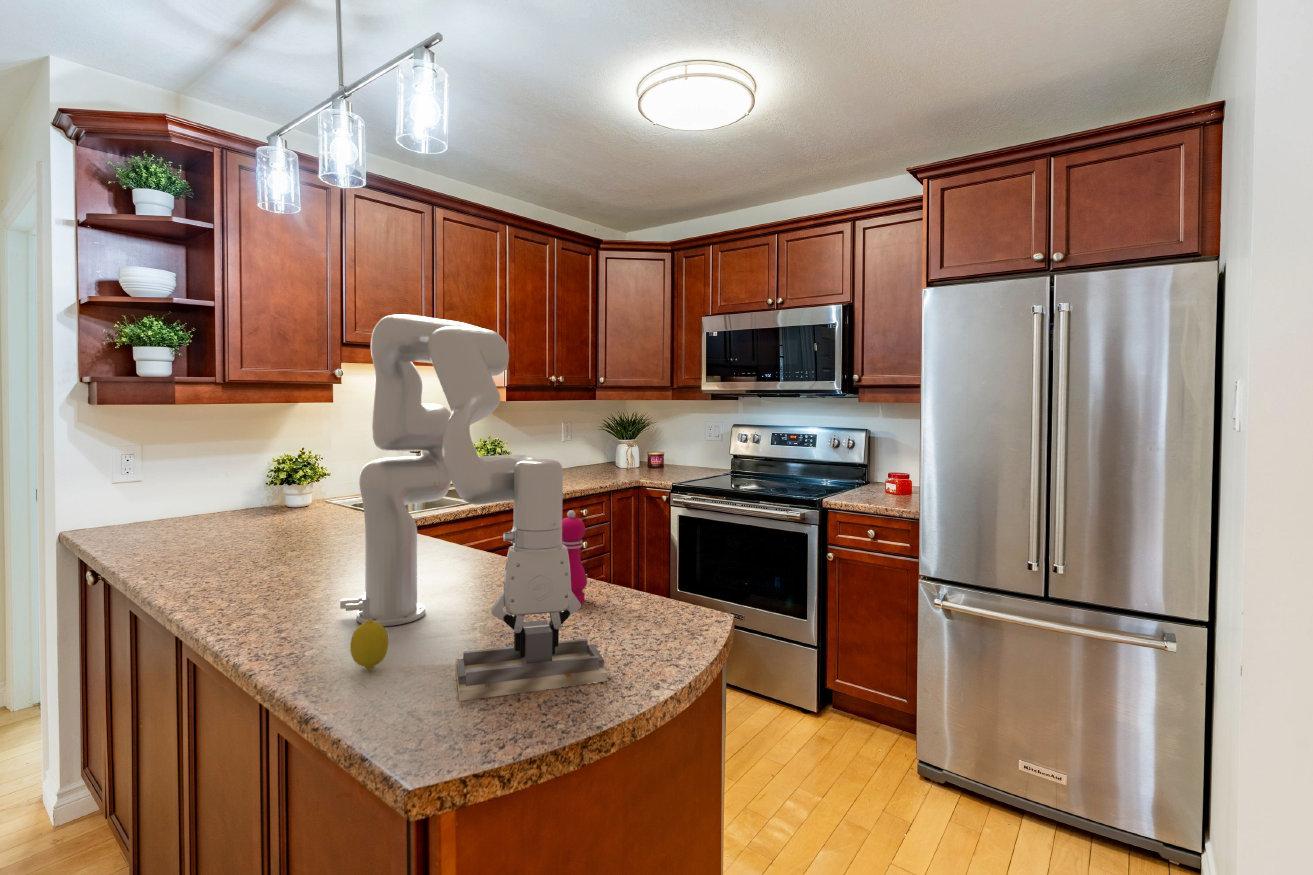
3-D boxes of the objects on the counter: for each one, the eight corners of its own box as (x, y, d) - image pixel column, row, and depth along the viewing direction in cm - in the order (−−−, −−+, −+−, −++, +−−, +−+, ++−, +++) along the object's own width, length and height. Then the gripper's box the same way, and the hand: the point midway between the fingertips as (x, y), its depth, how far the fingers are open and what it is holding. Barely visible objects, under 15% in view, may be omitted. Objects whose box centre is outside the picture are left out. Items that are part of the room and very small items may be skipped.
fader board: (459, 700, 92) (459, 677, 92) (456, 670, 103) (456, 649, 102) (607, 681, 100) (607, 659, 100) (590, 655, 110) (590, 635, 110)
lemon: (358, 662, 105) (358, 614, 105) (393, 662, 105) (393, 614, 105) (344, 676, 99) (344, 626, 99) (381, 676, 100) (381, 625, 100)
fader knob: (525, 673, 98) (526, 633, 98) (520, 658, 103) (520, 621, 103) (552, 670, 99) (552, 631, 99) (545, 655, 105) (546, 619, 104)
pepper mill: (580, 607, 135) (582, 513, 134) (548, 605, 137) (549, 512, 136) (590, 597, 143) (592, 508, 142) (560, 595, 144) (561, 506, 143)
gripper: (484, 546, 94) (483, 668, 95) (595, 540, 100) (593, 656, 101) (480, 536, 101) (479, 650, 102) (584, 531, 107) (582, 639, 108)
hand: (536, 651), depth 101 cm, fingers closed on fader knob, 4 cm apart
